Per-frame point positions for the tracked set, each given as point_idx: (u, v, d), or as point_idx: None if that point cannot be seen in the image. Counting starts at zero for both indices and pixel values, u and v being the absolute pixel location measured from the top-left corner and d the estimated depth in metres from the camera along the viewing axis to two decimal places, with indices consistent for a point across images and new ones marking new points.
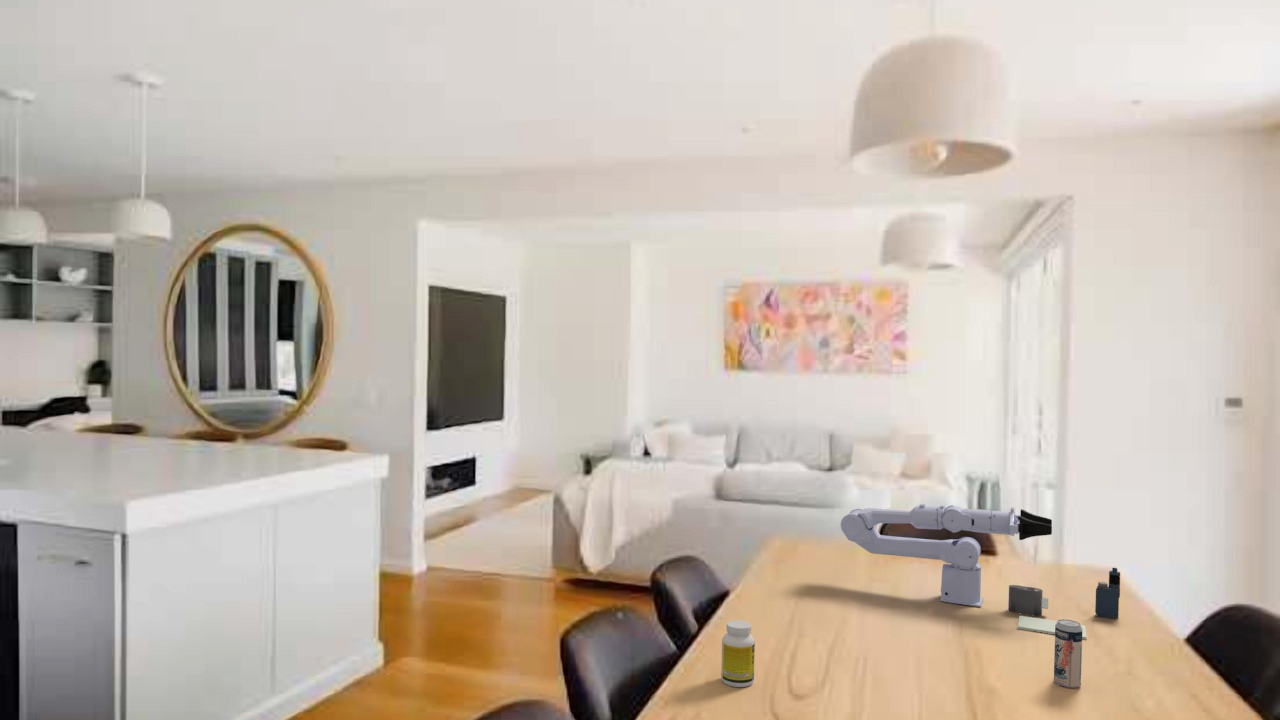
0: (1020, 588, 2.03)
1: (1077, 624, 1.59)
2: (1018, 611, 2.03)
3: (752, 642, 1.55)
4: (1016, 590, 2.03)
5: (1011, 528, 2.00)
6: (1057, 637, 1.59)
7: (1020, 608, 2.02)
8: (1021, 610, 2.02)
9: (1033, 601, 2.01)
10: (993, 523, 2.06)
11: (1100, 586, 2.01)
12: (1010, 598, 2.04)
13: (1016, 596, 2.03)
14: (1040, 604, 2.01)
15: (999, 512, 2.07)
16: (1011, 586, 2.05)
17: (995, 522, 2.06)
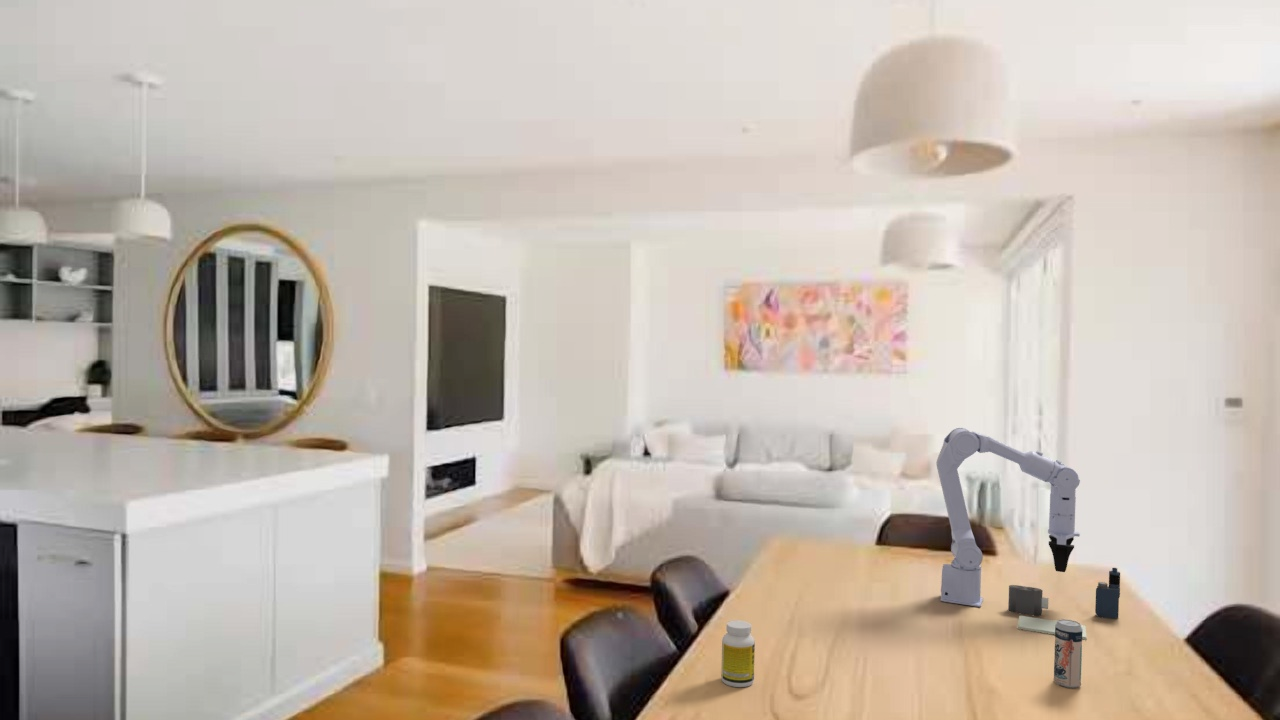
0: (1020, 588, 2.03)
1: (1077, 624, 1.59)
2: (1018, 611, 2.03)
3: (752, 642, 1.55)
4: (1016, 590, 2.03)
5: (1062, 538, 2.00)
6: (1057, 637, 1.59)
7: (1020, 607, 2.02)
8: (1021, 610, 2.02)
9: (1033, 601, 2.01)
10: (1063, 518, 2.04)
11: (1100, 586, 2.01)
12: (1010, 598, 2.04)
13: (1016, 596, 2.03)
14: (1040, 604, 2.01)
15: (1074, 522, 2.05)
16: (1011, 586, 2.05)
17: (1064, 520, 2.04)
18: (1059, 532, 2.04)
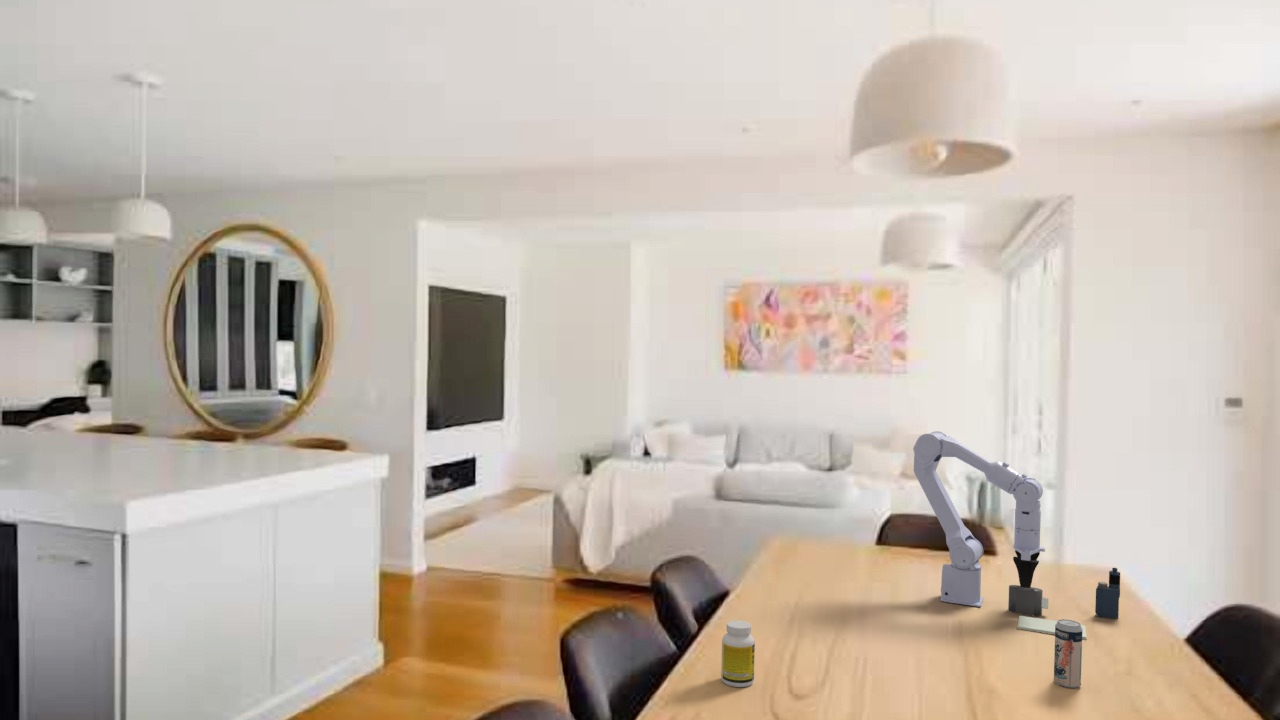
0: (1020, 588, 2.03)
1: (1077, 624, 1.59)
2: (1018, 611, 2.03)
3: (752, 642, 1.55)
4: (1016, 590, 2.03)
5: (1026, 554, 1.97)
6: (1057, 637, 1.59)
7: (1020, 607, 2.02)
8: (1021, 610, 2.02)
9: (1033, 601, 2.01)
10: (1027, 532, 2.01)
11: (1100, 586, 2.01)
12: (1010, 598, 2.04)
13: (1016, 596, 2.03)
14: (1040, 604, 2.01)
15: (1039, 537, 2.01)
16: (1011, 586, 2.05)
17: (1029, 535, 2.01)
18: (1024, 547, 2.01)
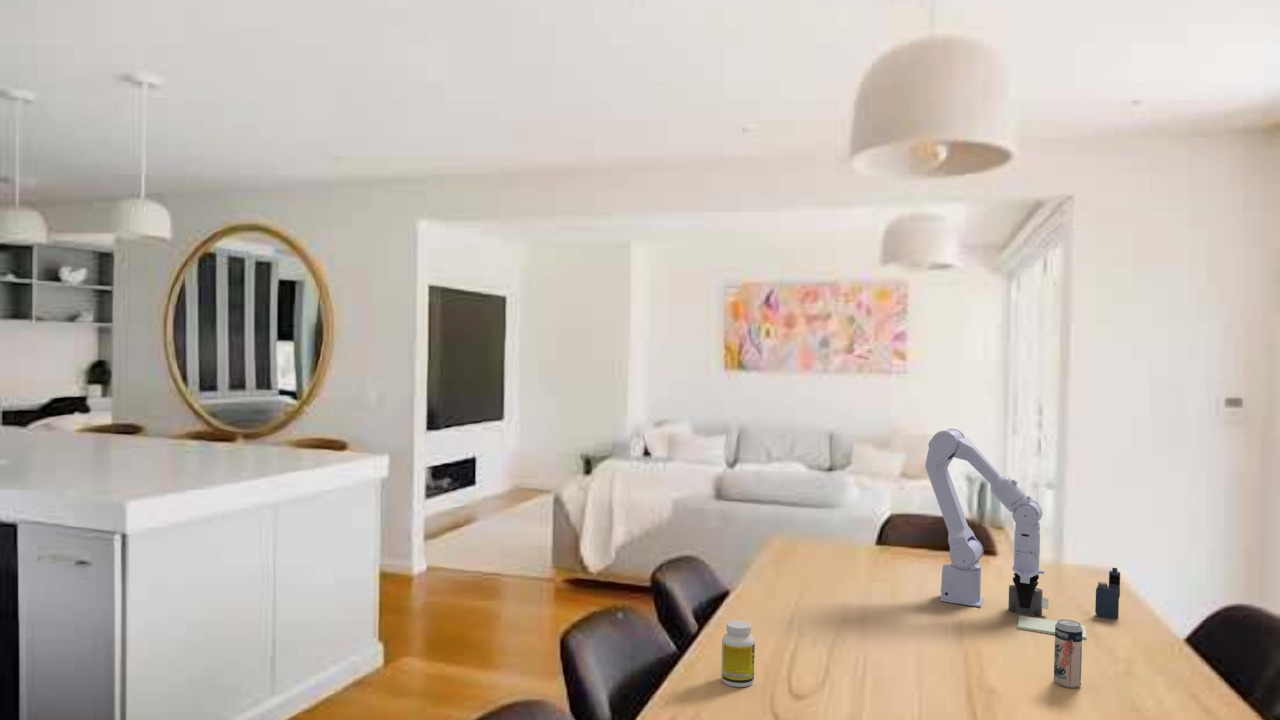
0: None
1: (1077, 624, 1.59)
2: (1018, 611, 2.03)
3: (752, 642, 1.55)
4: (1016, 590, 2.03)
5: (1026, 577, 1.97)
6: (1057, 637, 1.59)
7: (1020, 607, 2.02)
8: (1021, 610, 2.02)
9: (1033, 601, 2.01)
10: (1027, 555, 2.01)
11: (1100, 586, 2.01)
12: (1010, 598, 2.04)
13: (1016, 596, 2.03)
14: (1040, 604, 2.01)
15: (1038, 560, 2.01)
16: (1011, 586, 2.05)
17: (1028, 557, 2.01)
18: (1023, 569, 2.01)
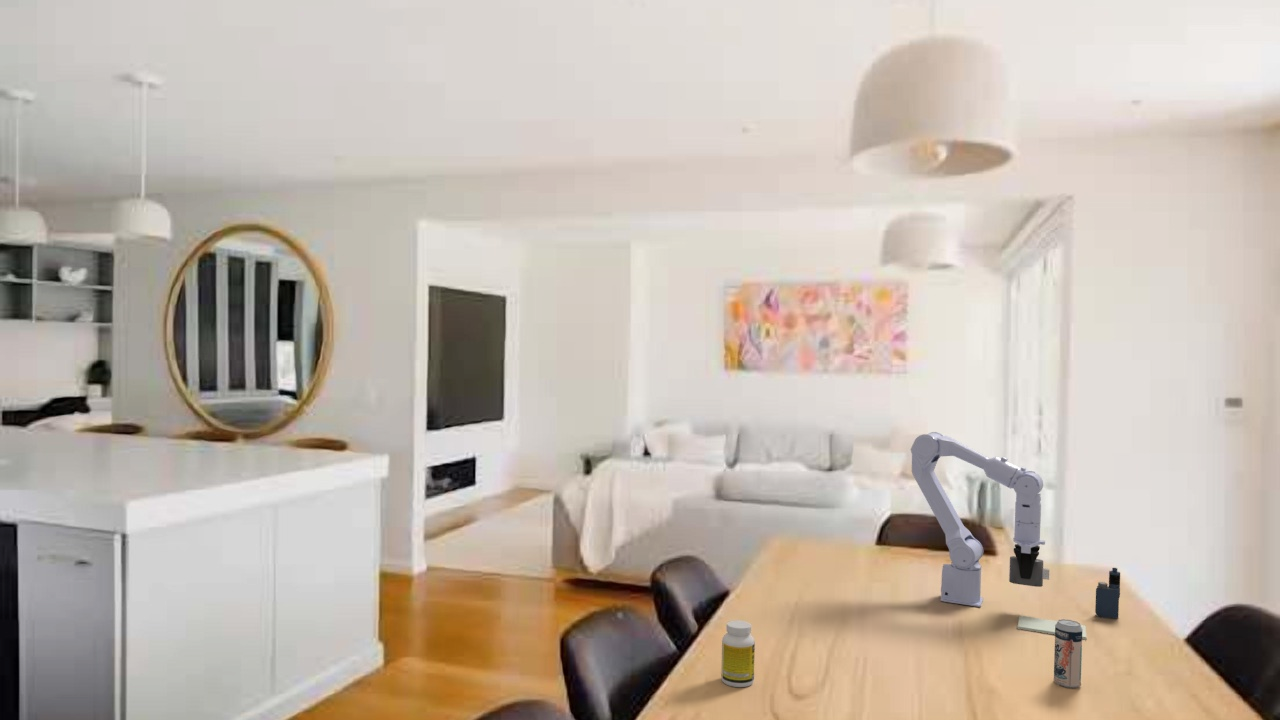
0: None
1: (1077, 624, 1.59)
2: (1019, 582, 2.02)
3: (752, 642, 1.55)
4: (1017, 561, 2.03)
5: (1026, 547, 1.97)
6: (1057, 637, 1.59)
7: (1021, 578, 2.02)
8: (1022, 581, 2.02)
9: (1034, 572, 2.01)
10: (1027, 525, 2.01)
11: (1100, 586, 2.01)
12: (1011, 569, 2.04)
13: (1017, 567, 2.03)
14: (1041, 575, 2.01)
15: (1039, 530, 2.01)
16: (1012, 557, 2.05)
17: (1029, 527, 2.01)
18: (1024, 540, 2.01)
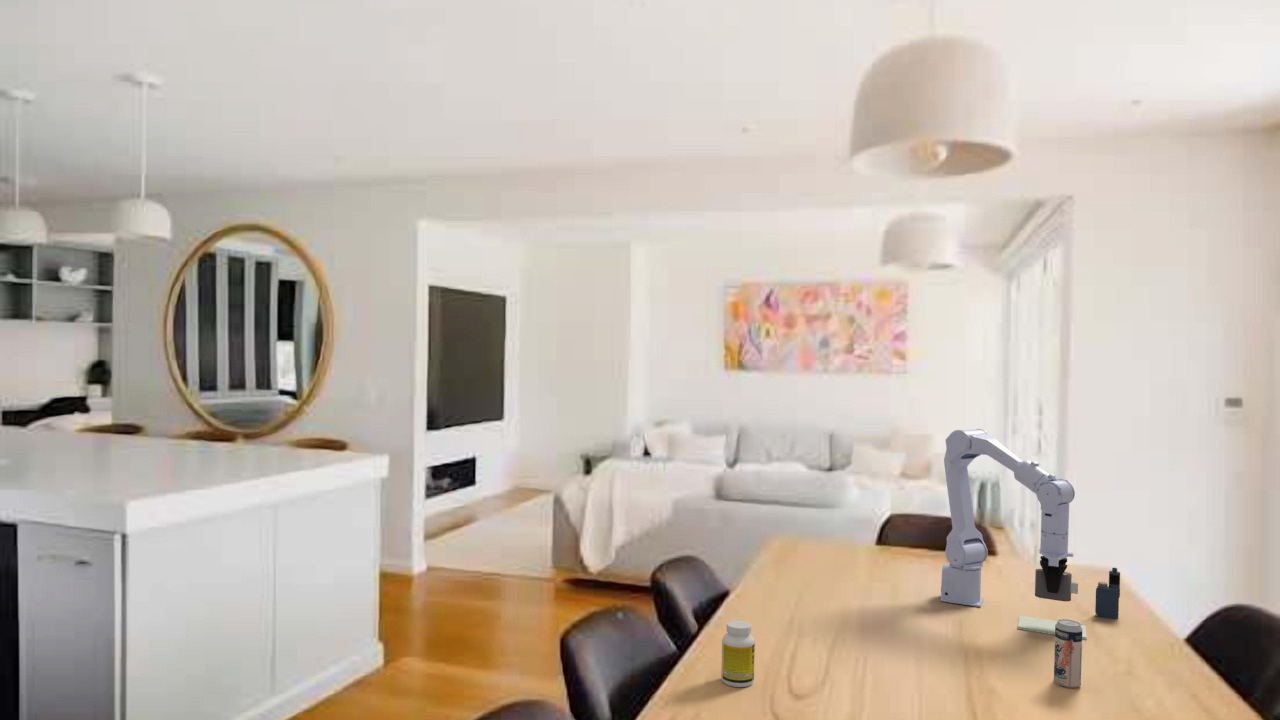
0: None
1: (1077, 624, 1.59)
2: (1046, 596, 1.91)
3: (752, 642, 1.55)
4: None
5: (1054, 559, 1.85)
6: (1057, 637, 1.59)
7: (1047, 592, 1.91)
8: (1049, 595, 1.91)
9: (1062, 585, 1.89)
10: (1055, 536, 1.89)
11: (1100, 586, 2.01)
12: (1037, 582, 1.92)
13: (1043, 580, 1.91)
14: (1069, 589, 1.89)
15: (1067, 542, 1.90)
16: (1038, 570, 1.93)
17: (1057, 539, 1.89)
18: (1051, 552, 1.89)
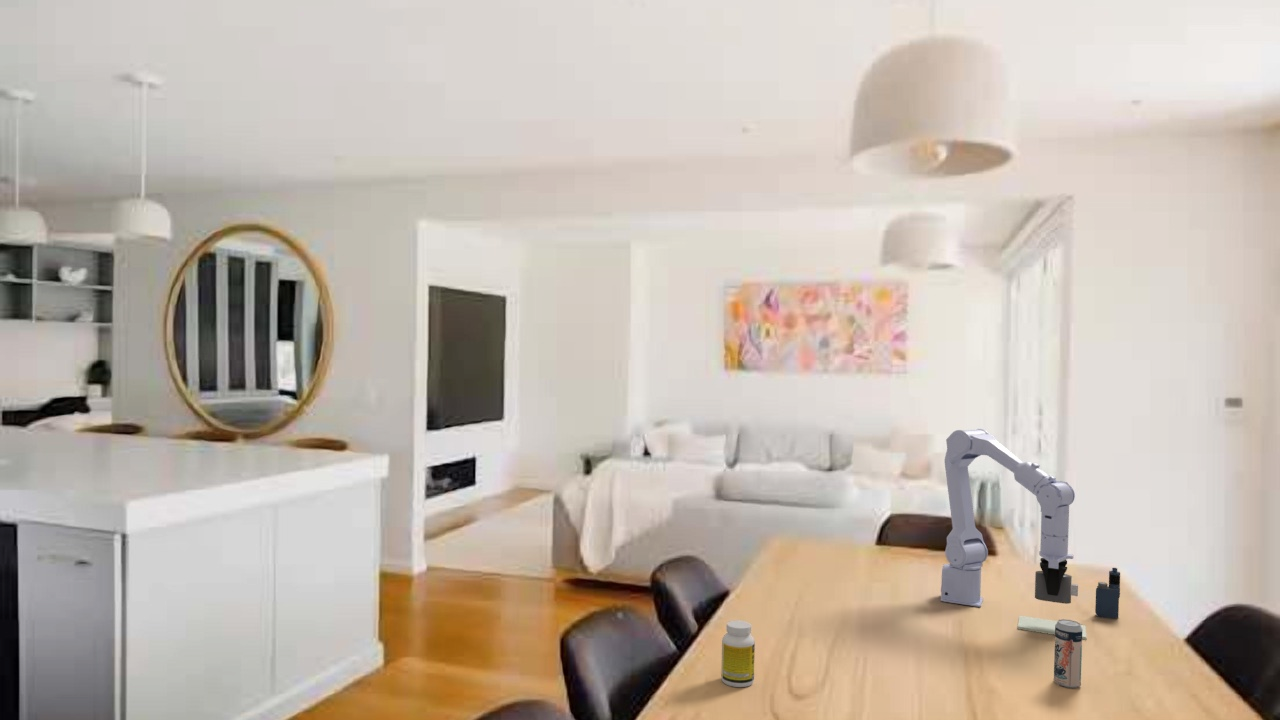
0: None
1: (1077, 624, 1.59)
2: (1045, 598, 1.91)
3: (752, 642, 1.55)
4: None
5: (1054, 562, 1.85)
6: (1057, 637, 1.59)
7: (1047, 595, 1.91)
8: (1049, 597, 1.91)
9: (1062, 588, 1.89)
10: (1055, 539, 1.89)
11: (1100, 586, 2.01)
12: (1037, 584, 1.92)
13: (1043, 582, 1.91)
14: (1069, 591, 1.89)
15: (1067, 544, 1.90)
16: (1038, 572, 1.93)
17: (1056, 541, 1.89)
18: (1051, 554, 1.89)
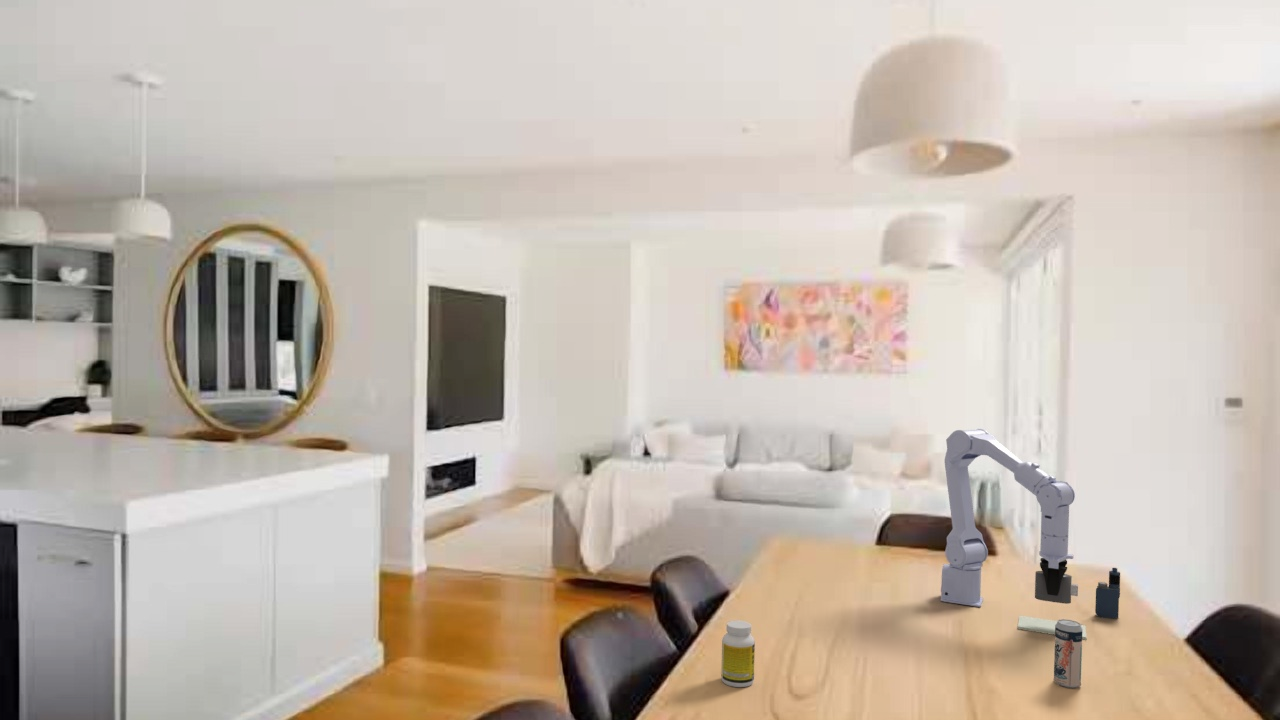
0: None
1: (1077, 624, 1.59)
2: (1045, 598, 1.91)
3: (752, 642, 1.55)
4: None
5: (1054, 562, 1.85)
6: (1057, 637, 1.59)
7: (1047, 595, 1.91)
8: (1049, 597, 1.91)
9: (1062, 588, 1.89)
10: (1055, 539, 1.89)
11: (1100, 586, 2.01)
12: (1037, 584, 1.92)
13: (1043, 582, 1.91)
14: (1069, 591, 1.89)
15: (1067, 544, 1.90)
16: (1038, 572, 1.93)
17: (1056, 541, 1.89)
18: (1051, 554, 1.89)
